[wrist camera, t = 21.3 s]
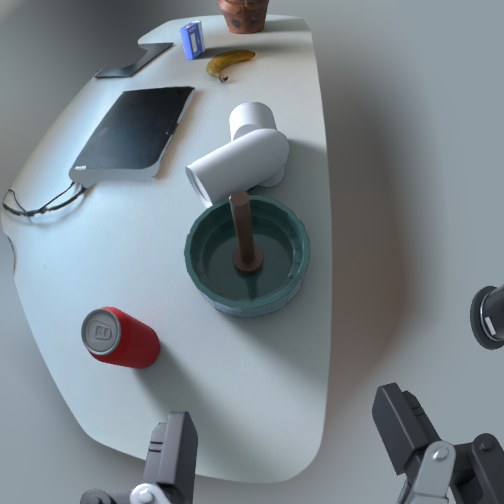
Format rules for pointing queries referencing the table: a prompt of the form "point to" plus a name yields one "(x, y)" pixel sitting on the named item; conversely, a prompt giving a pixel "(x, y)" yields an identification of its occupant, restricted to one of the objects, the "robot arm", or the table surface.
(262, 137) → the elbow connector
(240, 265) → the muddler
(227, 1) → the brown pot
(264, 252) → the bowl
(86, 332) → the beverage can
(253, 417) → the table surface
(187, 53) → the walkman
